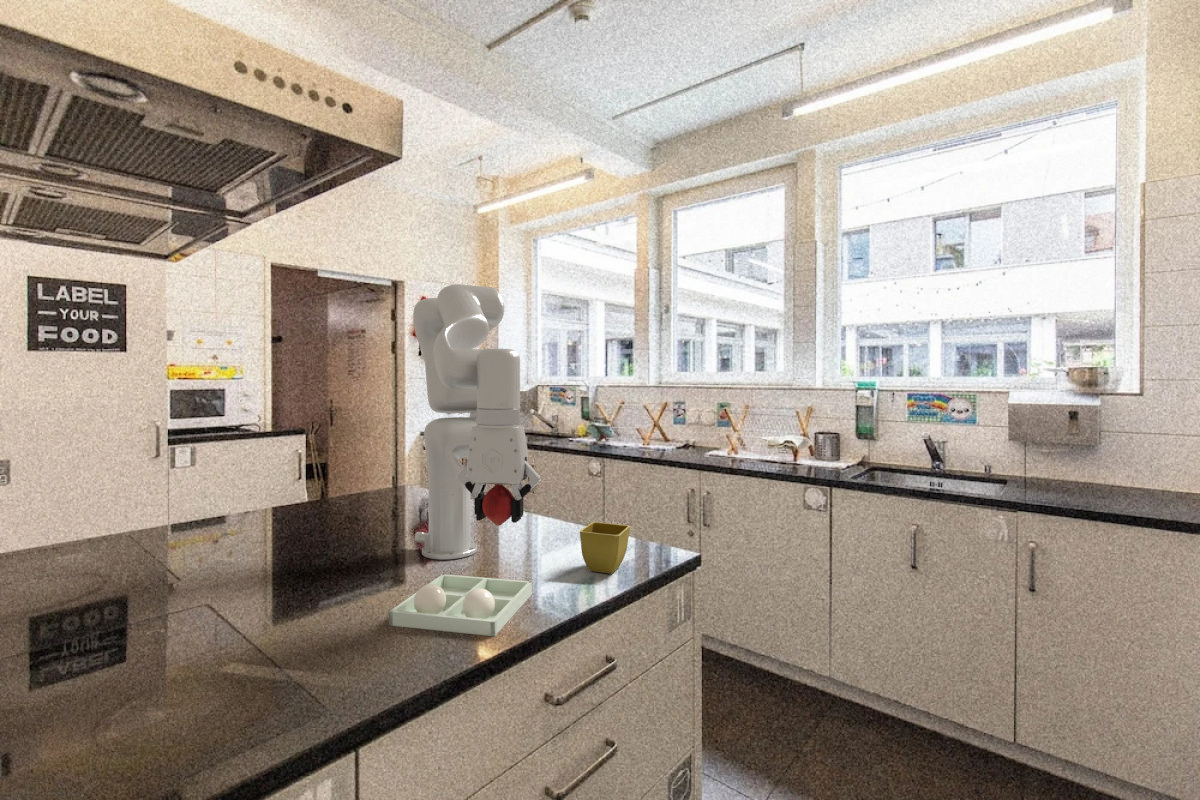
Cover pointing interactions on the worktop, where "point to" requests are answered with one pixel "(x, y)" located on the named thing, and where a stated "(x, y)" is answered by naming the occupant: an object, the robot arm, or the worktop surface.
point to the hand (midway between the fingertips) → (498, 518)
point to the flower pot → (604, 546)
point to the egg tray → (452, 616)
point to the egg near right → (478, 604)
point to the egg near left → (430, 599)
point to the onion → (498, 504)
